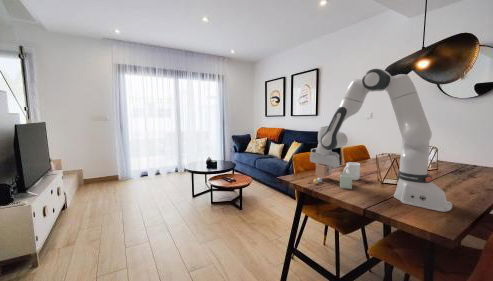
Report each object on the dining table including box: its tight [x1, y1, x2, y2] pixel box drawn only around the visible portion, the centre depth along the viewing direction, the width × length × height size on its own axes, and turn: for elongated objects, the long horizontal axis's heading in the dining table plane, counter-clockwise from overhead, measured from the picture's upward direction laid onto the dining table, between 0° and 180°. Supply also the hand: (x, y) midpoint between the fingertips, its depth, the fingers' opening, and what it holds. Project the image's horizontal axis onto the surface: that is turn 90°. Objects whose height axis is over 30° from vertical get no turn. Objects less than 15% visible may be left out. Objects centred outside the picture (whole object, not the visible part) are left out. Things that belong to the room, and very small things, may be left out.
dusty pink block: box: [315, 164, 333, 178], centre depth 144 cm, size 6×9×7 cm
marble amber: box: [313, 178, 319, 185], centre depth 135 cm, size 3×3×3 cm
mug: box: [343, 161, 361, 181], centre depth 144 cm, size 12×8×10 cm
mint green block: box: [339, 172, 353, 190], centre depth 130 cm, size 6×9×7 cm
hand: (323, 171), depth 144 cm, fingers closed on dusty pink block, 6 cm apart
